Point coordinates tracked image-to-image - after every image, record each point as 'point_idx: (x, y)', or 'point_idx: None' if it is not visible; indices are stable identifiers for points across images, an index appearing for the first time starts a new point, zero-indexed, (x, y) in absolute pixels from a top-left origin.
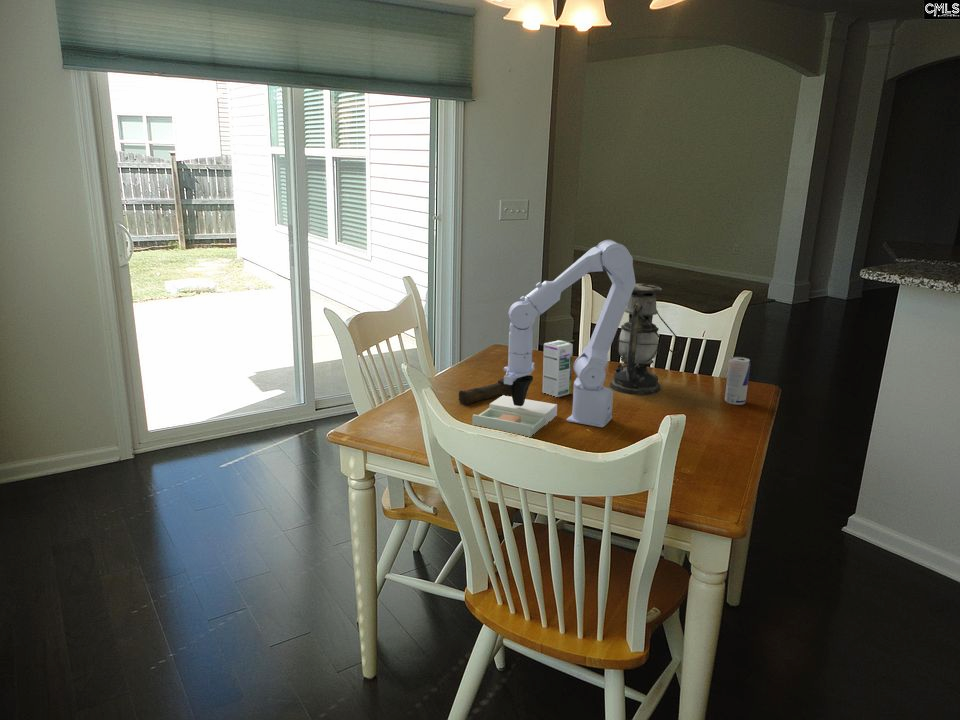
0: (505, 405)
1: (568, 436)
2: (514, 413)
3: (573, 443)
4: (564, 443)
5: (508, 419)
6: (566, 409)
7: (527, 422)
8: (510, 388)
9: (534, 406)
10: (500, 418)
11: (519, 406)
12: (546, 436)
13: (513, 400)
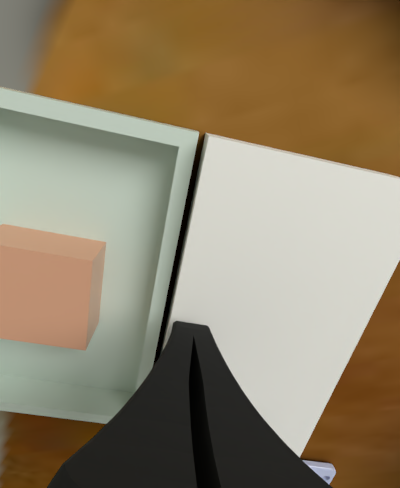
0: (208, 253)
1: None
2: (152, 304)
3: (23, 484)
4: (7, 466)
5: (14, 305)
6: (363, 431)
7: (142, 343)
8: (122, 413)
9: None
10: (6, 261)
11: (216, 330)
12: (39, 416)
13: (168, 340)
